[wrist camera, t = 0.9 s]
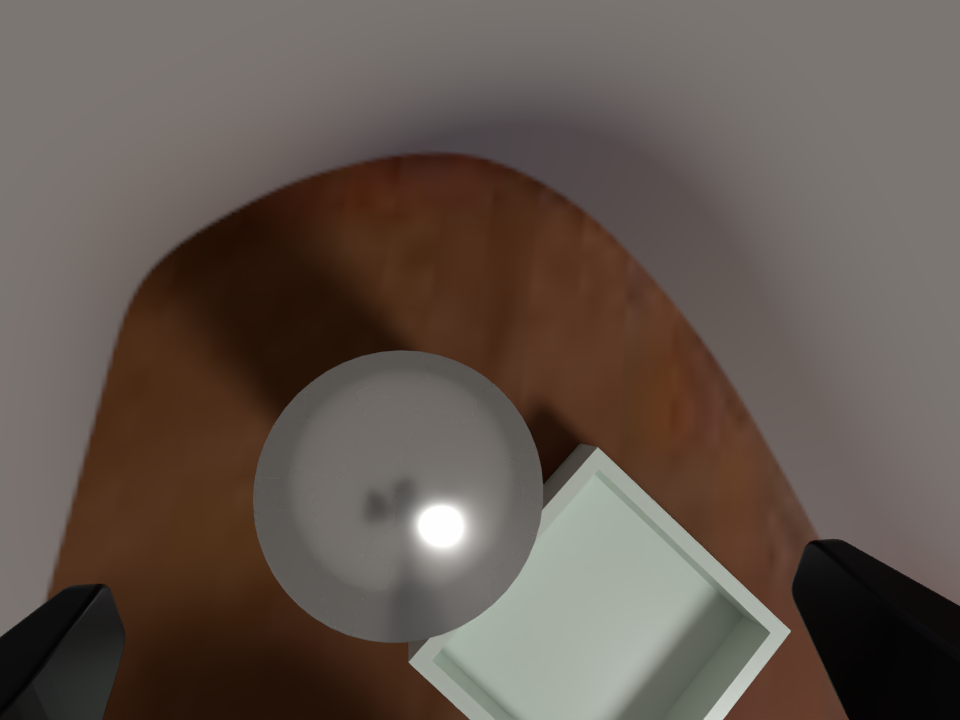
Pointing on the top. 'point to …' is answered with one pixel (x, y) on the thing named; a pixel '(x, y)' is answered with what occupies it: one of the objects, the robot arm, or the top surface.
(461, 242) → the top surface
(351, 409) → the tin
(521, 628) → the pale green square tray
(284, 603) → the top surface
